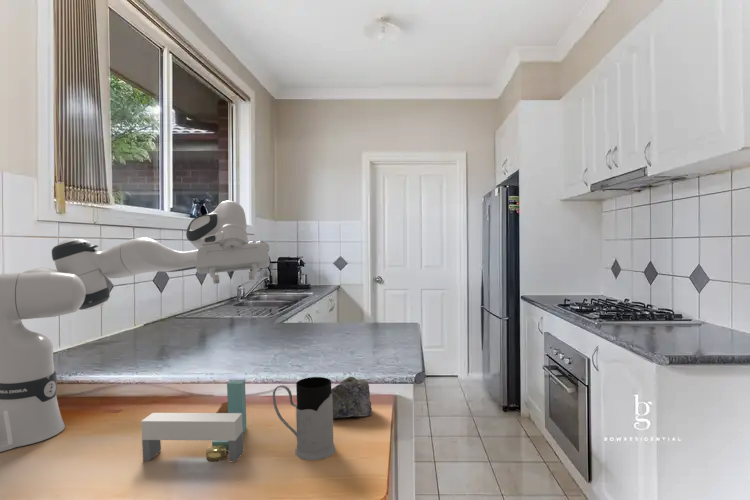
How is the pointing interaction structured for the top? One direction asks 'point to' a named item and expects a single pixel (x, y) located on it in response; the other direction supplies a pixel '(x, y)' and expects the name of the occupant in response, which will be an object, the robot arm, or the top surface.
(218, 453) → the token
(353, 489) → the top surface
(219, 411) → the primitive tool
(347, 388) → the mineral rock
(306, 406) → the glass holder
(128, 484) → the top surface
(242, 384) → the block
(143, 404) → the top surface
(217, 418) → the white bench
